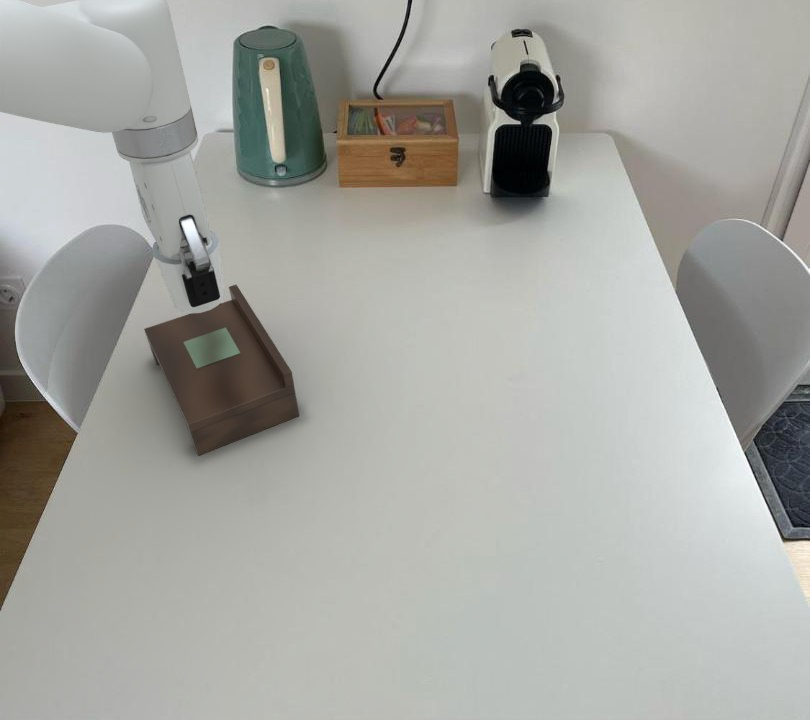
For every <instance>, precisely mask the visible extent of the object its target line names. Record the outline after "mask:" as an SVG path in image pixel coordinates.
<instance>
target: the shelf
mask: <svg viewBox="0 0 810 720" xmlns="http://www.w3.org/2000/svg"><path fill="white" fill-rule="evenodd" d="M228 291H229V294H230V295H229V296H230V300H226V301H224V302H222V303H220V304H219V305H218V306H216V307H214V308H213V309H211V310H208V311H205V312H202V313H191V314H190V313H186V314H185V315H182V316H179V317H176V318H173V319H170V320H166V321H164V322H161V323H157V324H155V325H152V326H149V327H146V328H144V333H145V336H146V339H147V342H148V345H149V349H150V351H151V355H152V357H153V360H154V363H155V365H159V367H160V369H161V371H162V373H163V375H164V378H165V379H166V382H167V384H168V387H169V388H170V390H171V393H172V395H173V397H174V399H175V402H176V403H177V406H178V408H179V410H180V412H181V415H182V416H183V419H184V421H185V423H186V425H187V429H188V432H189V435H190V437H191V441H192V444H193V447H194V450H195V452H196V455H197V456H202V455H203V454H206V453H208V452H211V451H214V450H217V449H219V448H221V447H224V446H226V445H229V444H232V443H234V442H237V441H239V440H242V439H245V438H247V437H249V436H252V435H255V434H258V433H260V432H262V431H265V430H267V429H269V428H272V427H275V426H278V425H280V424H283V423H285V422H287V421H290V420H293V419H295V418H298V417H300V411H299V406H298V400H297V399H298V398H297V394H296V388H295V382H294V376H293V371H292V370H291V368H290V366H289V365H288V364H287V362H286V360H285V359H284V357H283V356H282V354H281V353H280V351H279V349H278V348H277V346H276V344H275V343H274V342H273V339H272V338H271V336H270V335H269V333H268V331H267V330H266V329H265V327H264V325H263V324H262V321H260V319H259V318H258V316H257V315H256V313H255V311H254V310H253V308H252V306H251V305H250V303H249V302H248V300H247V299H246V298H245V296H244V294H243V292H242V291H241V289H240V288H239V286H238V284H233V285H230V286H228Z"/></svg>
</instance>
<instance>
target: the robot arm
mask: <svg viewBox="0 0 810 720" xmlns="http://www.w3.org/2000/svg"><path fill="white" fill-rule="evenodd" d="M187 86H188V85H187V81H186V77H185V72H184V68H183V64H182V59H181V55H180V50H179V46H178V41H177V37H176V33H175V29H174V24H173V19H172V14H171V11H170V8H169V4H168V1H167V0H71V1H67V2H61V3H57V4H50V5H45V6H38V5H35V4H32V3H29V2H26V1H23V0H0V113H3V114H8V115H13V116H17V117H21V118H26V119H29V120H34V121H38V122H39V121H40V122H43V123H44V122H45V123H49V124H55V125H58V126H59V125H60V126H64V127H69V128H74V129H80V130H85V131H89V132H96V133H104V134H105V133H106V134H107V133H108V134H109V133H111V135H112V138H113V141H114V145H115V149H116V151H117V154H118V156H119V157H120V158H122V159H123V160H125V161H127V162H128V163H129V167H130V170H131V175H132V178H133V183H134V186H135V187H134V188H135V191H136V194H137V198H138V203H139V206H140V207H139V208H140V210H141V214H142V217H143V220H144V222H145V224H146V226H147V227H148V230H149V231H150V233H151V235H152V237H153V239H154V240H155V242H157V244H158V246H159V248H160V249H161V251H162V253H163V254H164V255H166V256H168V257H172V256H173V255H177V254H178V256H179V259H180V262H181V265H182V268H183V271H184V274H183V275H182V278H183V282H184V286H185V289H186V293H187V297H188V300H189V303H190V305H191V307H197V306H200V305H203V304H206V303H209V302H212V301H215V300H218V299H219V298H220V293H219V289H218V285H217V280H216V276H215V272H214V268H213V266H212V264H211V261H210V258H209V255H208V252H207V248H206V245H207V246H208V245H209V244H210V242H211V232H210V231H211V227H210V223H209V218H208V214H207V210H206V205H205V201H204V197H203V194H202V190H201V186H200V182H199V178H198V175H197V174H198V173H197V170H196V167H195V164H194V159H193V157H192V153H191V151H192V150H194V149H195V148H196V147H197V144H198V143H199V135H198V130H197V126H196V122H195V118H194V113H193V109H192V108H193V107H192V105H191V100H190V94H189V90H188V87H187ZM183 240H186V242H187V245H186V246H183V247H181V241H183ZM205 244H206V245H205ZM188 252H191V255H192V260H193V261H191V262H190V263H189V265H188V262H187V259H186V256H185V253H188Z"/></svg>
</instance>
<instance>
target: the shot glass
mask: <svg viewBox="0 0 810 720" xmlns="http://www.w3.org/2000/svg"><path fill="white" fill-rule="evenodd" d="M210 232H211V242H210V244H209V245H208V246H207V245H206V244H205V245H206V248H207V252H208V255H209V258H210V261H211V264H212V266H213V268H214V272H215V276H216V280H217V285H218V289H219V293H220V298H219V299H218V300H215V301H212V302H209V303H206V304H203V305H200V306H197V307H191V305H190V303H189V300H188V297H187V293H186V289H185V286H184V282H183V278H182V275H183V274H184V271H183V268H182V265H181V262H180V259H179V256H178V254H177V255H173V256H172V257H168V256H166V255H164V254H163V253H162V251H161V249H160V248H159V246H158V244H157V242H156V241H155V242H154V243H153V245H152V248H151V253H152V255H153V258H154V260H155V263H156V265H157V267H158V270H159V272H160V275H161V277H162V279H163V282H164V284H165V287H166V290H167V292H168V294H169V297H170V299H171V301H172V304H173V306H174V308H175V309H176V310H178V311H180V312H181V313H185V314H191V313H202V312H205V311H208V310H211V309H213V308H214V307H216V306H218V305H219V304H221V302H223V300H224V298H225V284H224V275H223V268H222V267H223V266H222V259H221V248H220V241H219V238H218V236H217V234H216V232H213V231H212V230H210ZM186 245H187V242H186V240H183V241H181V247H183V246H186ZM185 256H186V259H187V262H188V265H189V263H190V262H191V261H193V260H192V255H191V252H188V253H185Z"/></svg>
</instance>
